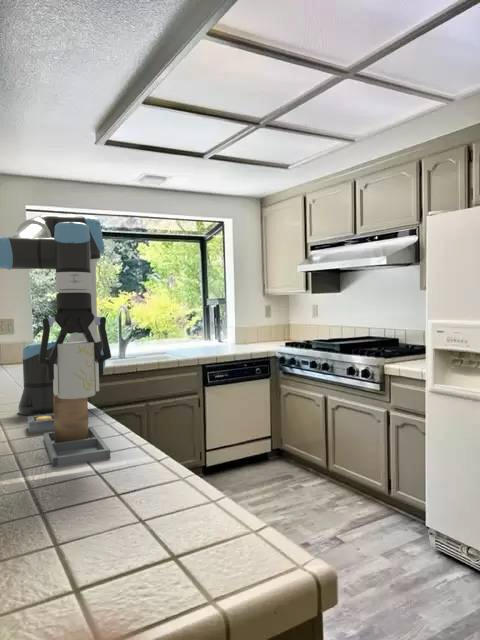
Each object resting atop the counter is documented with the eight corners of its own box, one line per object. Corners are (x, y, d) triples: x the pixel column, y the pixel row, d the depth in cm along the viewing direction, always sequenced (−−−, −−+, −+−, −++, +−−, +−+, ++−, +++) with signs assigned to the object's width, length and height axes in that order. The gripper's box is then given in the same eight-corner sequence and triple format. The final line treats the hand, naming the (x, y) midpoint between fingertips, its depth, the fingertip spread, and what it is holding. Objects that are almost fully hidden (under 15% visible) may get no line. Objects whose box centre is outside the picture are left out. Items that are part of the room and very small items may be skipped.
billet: (53, 440, 120) (51, 393, 120) (85, 436, 124) (84, 390, 123) (56, 449, 113) (54, 399, 113) (91, 444, 117) (89, 395, 116)
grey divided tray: (44, 443, 121) (43, 433, 121) (92, 436, 126) (92, 426, 126) (52, 470, 100) (52, 458, 100) (110, 461, 106) (110, 449, 106)
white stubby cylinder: (83, 399, 103) (82, 344, 103) (50, 398, 105) (48, 344, 104) (101, 392, 111) (100, 341, 111) (70, 391, 113) (68, 341, 112)
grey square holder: (27, 430, 133) (27, 416, 133) (58, 427, 137) (57, 413, 137) (29, 437, 126) (29, 422, 126) (61, 433, 130) (61, 419, 130)
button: (36, 427, 133) (35, 417, 132) (51, 426, 134) (51, 415, 134) (37, 431, 129) (36, 420, 129) (52, 429, 131) (52, 418, 131)
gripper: (23, 291, 99) (27, 399, 100) (124, 291, 109) (126, 390, 109) (22, 292, 106) (25, 394, 107) (116, 292, 115) (119, 385, 116)
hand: (76, 392), depth 108 cm, fingers closed on white stubby cylinder, 8 cm apart
